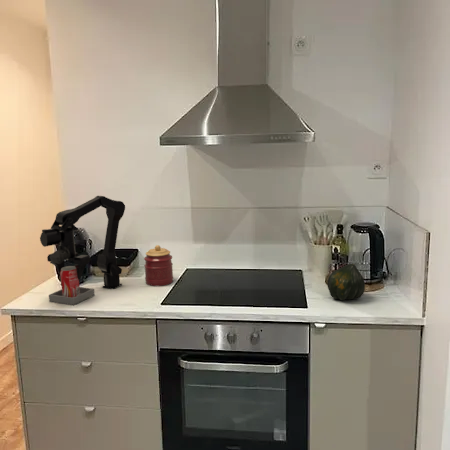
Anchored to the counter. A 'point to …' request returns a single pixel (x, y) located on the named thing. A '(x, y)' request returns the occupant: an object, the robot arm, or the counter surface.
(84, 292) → the bin
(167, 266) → the canister
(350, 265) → the squash
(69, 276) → the soda can
